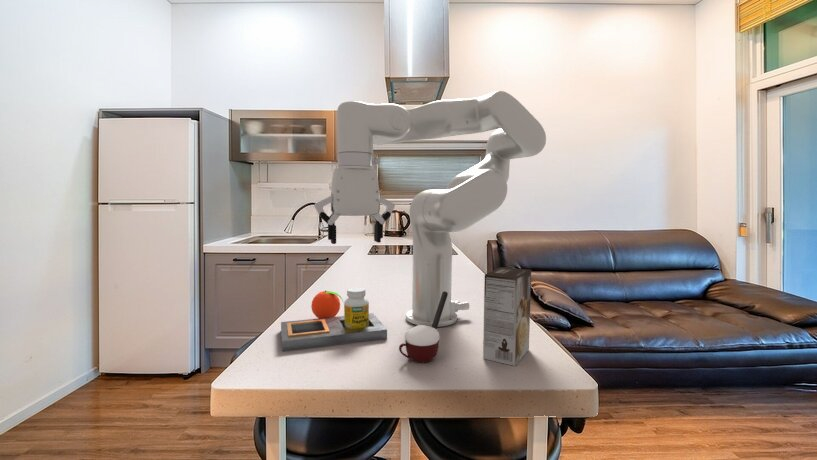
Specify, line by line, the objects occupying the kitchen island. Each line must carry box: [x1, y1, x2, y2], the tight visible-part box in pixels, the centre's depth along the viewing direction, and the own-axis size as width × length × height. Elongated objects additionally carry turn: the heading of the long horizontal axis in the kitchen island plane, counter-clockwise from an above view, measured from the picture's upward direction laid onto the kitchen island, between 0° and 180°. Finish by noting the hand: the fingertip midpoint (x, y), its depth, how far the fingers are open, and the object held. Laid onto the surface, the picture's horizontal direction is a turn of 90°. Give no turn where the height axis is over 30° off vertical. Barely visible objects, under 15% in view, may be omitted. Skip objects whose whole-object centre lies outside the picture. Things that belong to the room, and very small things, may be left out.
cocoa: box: [398, 291, 448, 364], centre depth 70 cm, size 10×6×12 cm, turn 91°
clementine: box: [310, 290, 345, 319], centre depth 93 cm, size 8×7×7 cm
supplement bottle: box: [343, 287, 370, 329], centre depth 84 cm, size 5×5×10 cm
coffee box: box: [482, 266, 533, 367], centre depth 72 cm, size 9×6×16 cm
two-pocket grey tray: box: [280, 312, 388, 352], centre depth 82 cm, size 21×12×2 cm, turn 110°
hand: (355, 242), depth 82 cm, fingers open, 9 cm apart
